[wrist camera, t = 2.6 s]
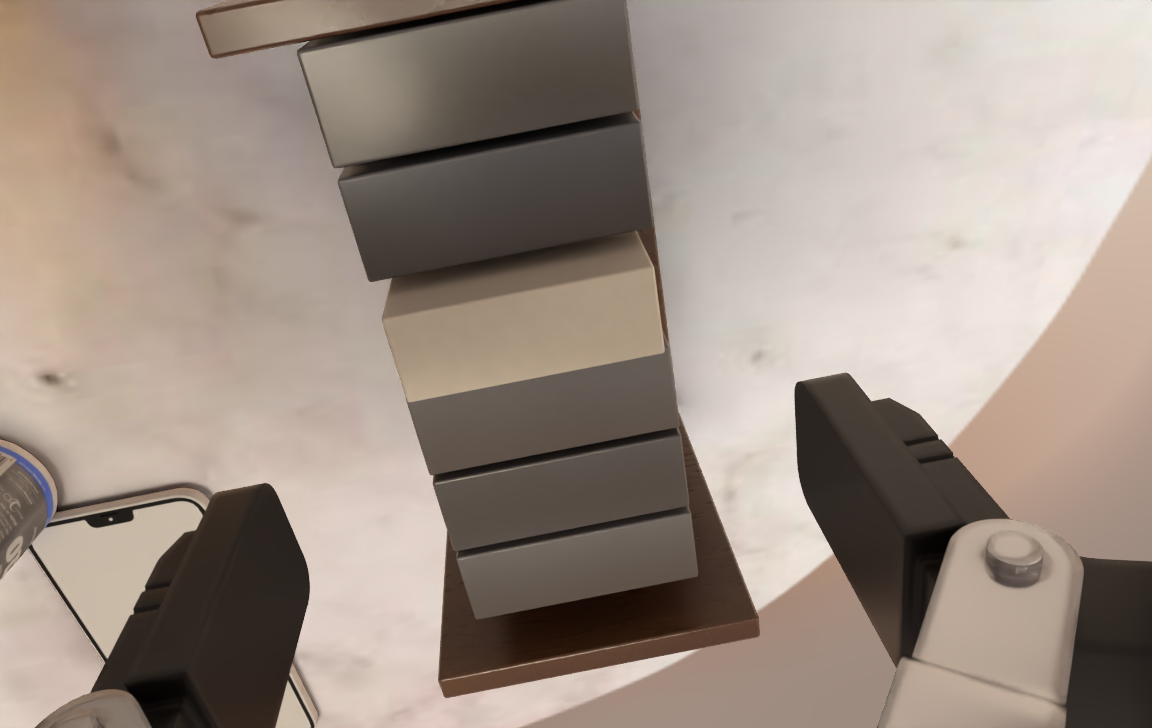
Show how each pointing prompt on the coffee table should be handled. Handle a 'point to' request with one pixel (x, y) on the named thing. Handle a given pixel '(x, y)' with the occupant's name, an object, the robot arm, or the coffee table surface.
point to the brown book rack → (540, 405)
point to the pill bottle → (22, 502)
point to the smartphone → (129, 569)
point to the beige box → (523, 316)
